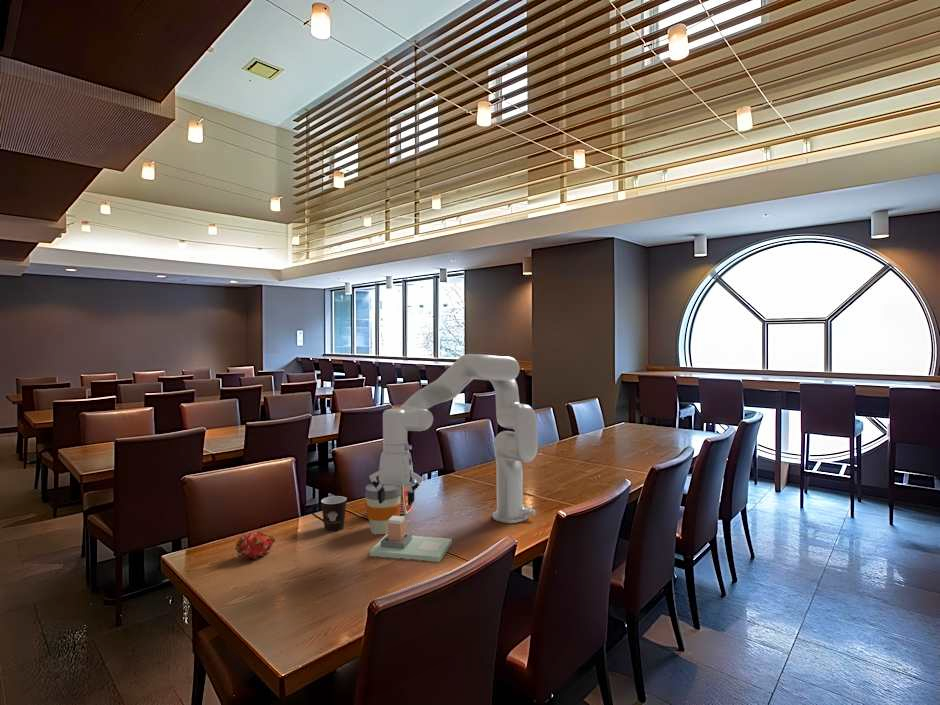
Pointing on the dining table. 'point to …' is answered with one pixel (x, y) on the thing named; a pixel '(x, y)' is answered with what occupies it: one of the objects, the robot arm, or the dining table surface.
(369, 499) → the reusable coffee cup
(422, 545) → the board
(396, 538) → the tan upright block
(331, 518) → the coffee mug
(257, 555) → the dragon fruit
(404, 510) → the milk carton
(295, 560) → the dining table surface
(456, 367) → the robot arm
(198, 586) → the dining table surface
